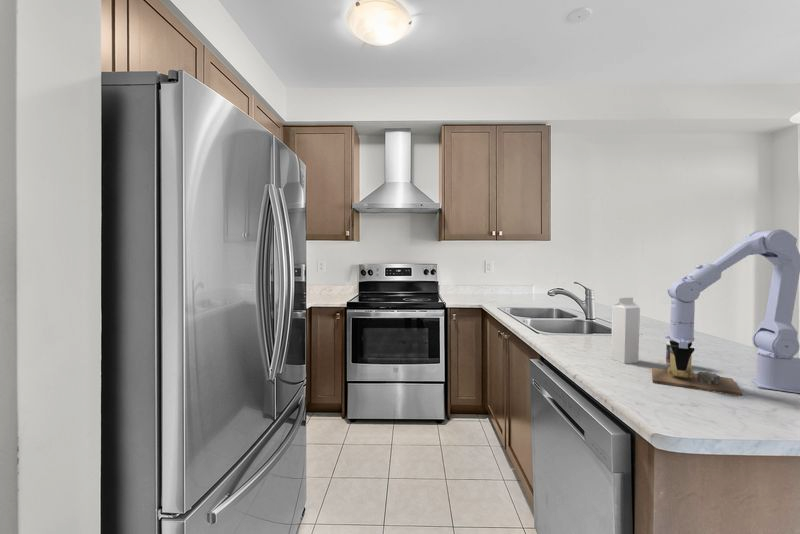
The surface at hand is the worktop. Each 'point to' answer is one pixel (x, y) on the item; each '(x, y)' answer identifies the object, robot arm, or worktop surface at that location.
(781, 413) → the worktop surface
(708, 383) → the carrier plate
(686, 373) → the gear
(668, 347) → the pill bottle
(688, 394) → the worktop surface
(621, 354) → the milk
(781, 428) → the worktop surface
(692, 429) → the worktop surface
